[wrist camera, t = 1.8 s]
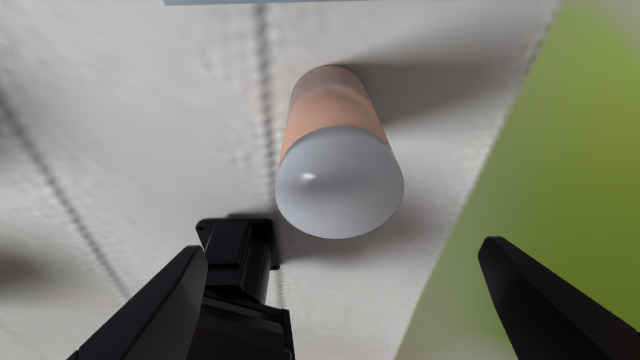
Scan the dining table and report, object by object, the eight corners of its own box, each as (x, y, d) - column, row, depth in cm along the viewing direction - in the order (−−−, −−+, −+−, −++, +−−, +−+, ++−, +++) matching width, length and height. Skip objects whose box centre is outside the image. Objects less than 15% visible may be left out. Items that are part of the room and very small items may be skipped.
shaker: (364, 138, 20) (394, 237, 13) (293, 140, 20) (281, 240, 13) (371, 64, 17) (414, 136, 10) (286, 66, 17) (266, 140, 10)
